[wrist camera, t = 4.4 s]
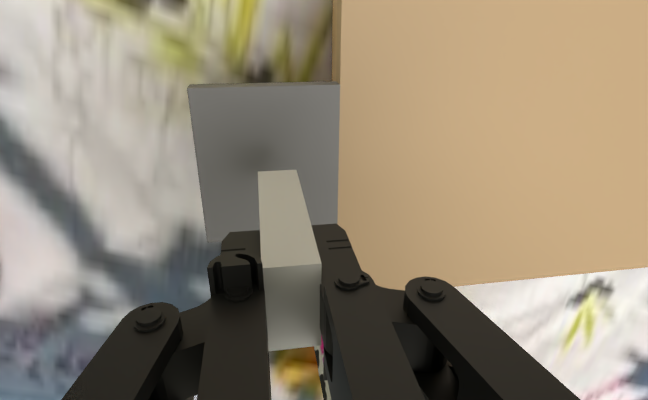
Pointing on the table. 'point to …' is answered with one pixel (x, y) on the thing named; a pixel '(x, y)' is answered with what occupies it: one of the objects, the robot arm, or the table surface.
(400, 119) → the lid
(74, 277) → the table surface
